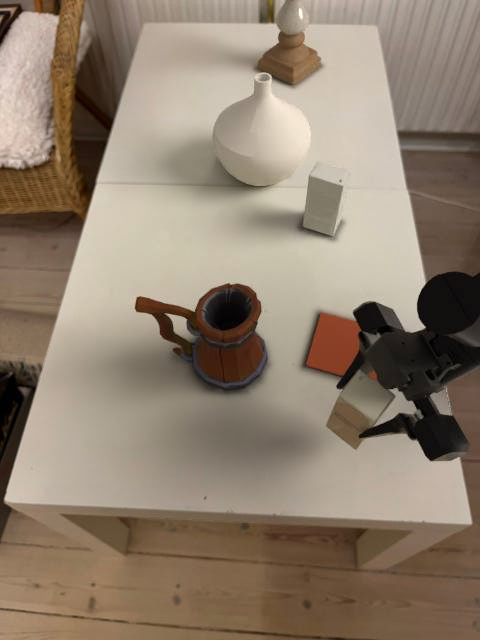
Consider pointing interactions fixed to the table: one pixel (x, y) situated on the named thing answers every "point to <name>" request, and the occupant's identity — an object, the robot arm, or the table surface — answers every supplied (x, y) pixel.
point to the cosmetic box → (325, 197)
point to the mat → (335, 345)
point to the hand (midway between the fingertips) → (348, 411)
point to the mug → (217, 334)
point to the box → (358, 408)
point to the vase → (261, 136)
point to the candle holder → (290, 46)
